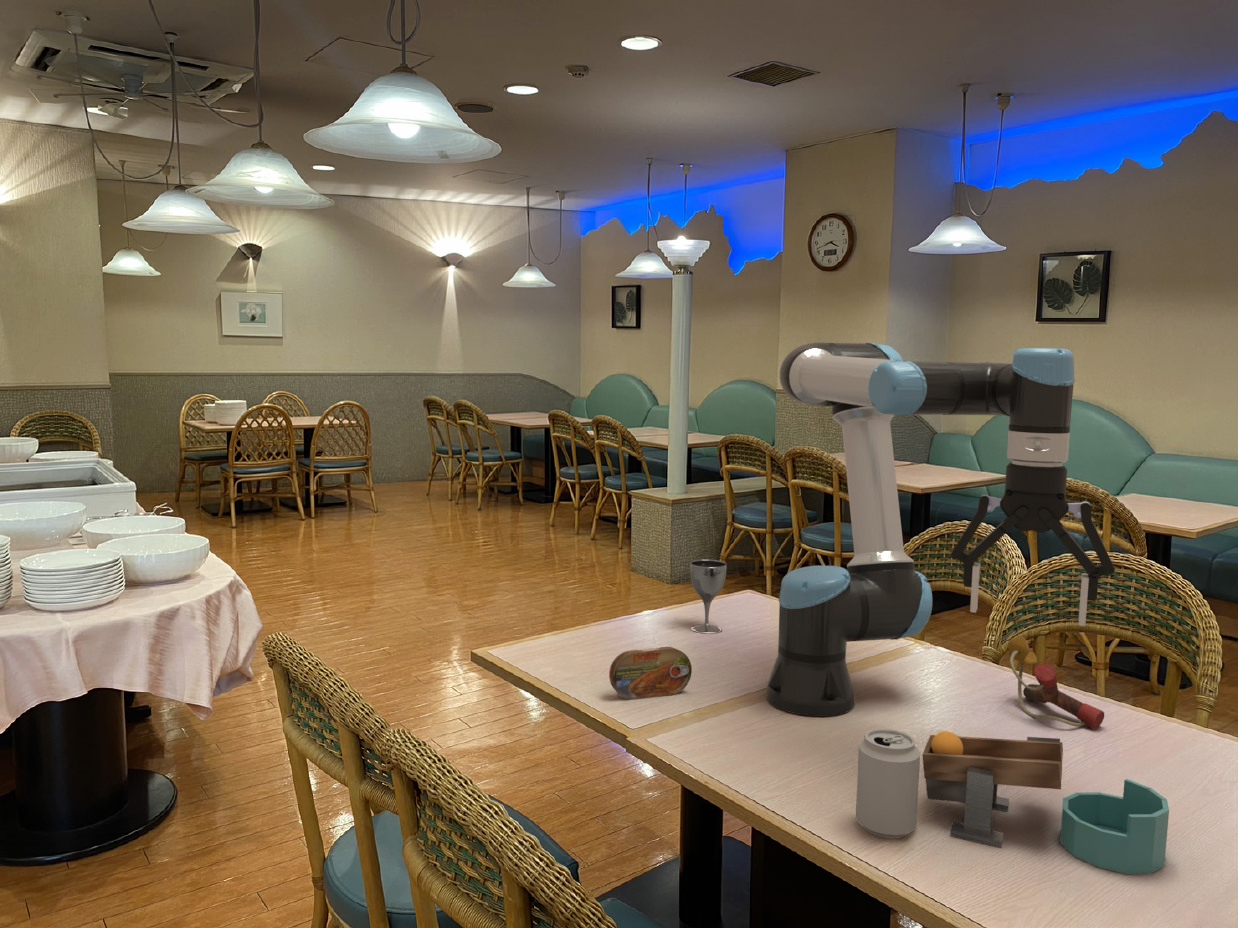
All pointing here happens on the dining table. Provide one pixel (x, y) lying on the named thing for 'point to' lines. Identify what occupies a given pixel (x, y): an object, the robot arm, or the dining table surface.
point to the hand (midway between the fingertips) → (1026, 616)
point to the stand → (980, 809)
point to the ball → (947, 744)
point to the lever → (993, 765)
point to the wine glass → (707, 586)
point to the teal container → (1117, 829)
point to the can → (887, 783)
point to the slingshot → (1048, 688)
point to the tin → (650, 673)
